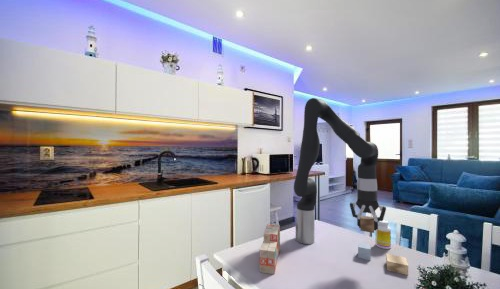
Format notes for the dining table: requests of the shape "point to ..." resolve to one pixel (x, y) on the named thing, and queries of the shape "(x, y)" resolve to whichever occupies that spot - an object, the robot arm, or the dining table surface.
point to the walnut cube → (367, 224)
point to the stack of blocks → (270, 249)
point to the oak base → (397, 264)
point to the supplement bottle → (383, 235)
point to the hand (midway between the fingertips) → (367, 228)
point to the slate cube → (364, 251)
